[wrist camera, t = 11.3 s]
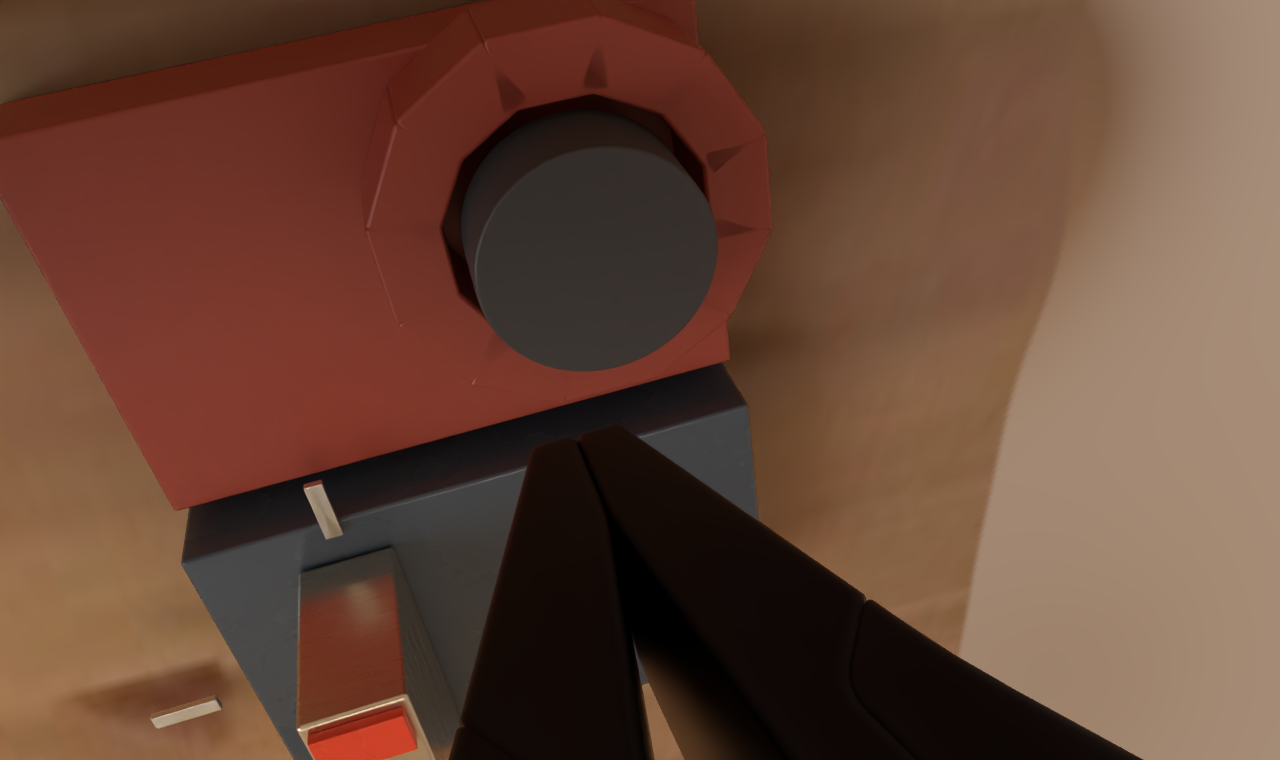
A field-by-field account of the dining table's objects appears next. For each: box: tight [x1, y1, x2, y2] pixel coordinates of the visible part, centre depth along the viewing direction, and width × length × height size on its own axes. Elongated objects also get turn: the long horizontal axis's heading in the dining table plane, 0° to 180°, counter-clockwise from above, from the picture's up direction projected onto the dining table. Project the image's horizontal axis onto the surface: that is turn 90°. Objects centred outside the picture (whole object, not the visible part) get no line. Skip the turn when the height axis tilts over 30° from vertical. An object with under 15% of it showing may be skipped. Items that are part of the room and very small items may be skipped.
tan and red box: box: [296, 548, 460, 760], centre depth 21 cm, size 6×2×4 cm, turn 8°
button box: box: [0, 0, 772, 510], centre depth 19 cm, size 12×8×4 cm
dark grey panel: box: [151, 362, 759, 760], centre depth 24 cm, size 14×10×3 cm
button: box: [461, 109, 718, 372], centre depth 17 cm, size 4×4×2 cm
